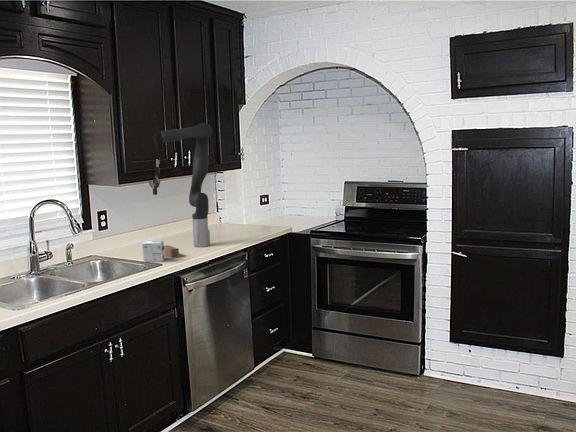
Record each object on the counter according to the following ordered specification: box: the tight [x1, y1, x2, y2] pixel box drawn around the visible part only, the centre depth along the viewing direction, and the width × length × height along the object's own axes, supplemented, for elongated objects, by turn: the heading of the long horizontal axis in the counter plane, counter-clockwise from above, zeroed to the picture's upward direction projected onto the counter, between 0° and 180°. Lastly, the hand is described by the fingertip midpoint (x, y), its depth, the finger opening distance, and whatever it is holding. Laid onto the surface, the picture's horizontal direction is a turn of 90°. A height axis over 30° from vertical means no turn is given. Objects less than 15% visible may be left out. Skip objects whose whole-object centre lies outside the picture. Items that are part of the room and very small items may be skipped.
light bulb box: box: [142, 240, 166, 263], centre depth 312 cm, size 11×7×11 cm, turn 92°
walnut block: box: [164, 245, 180, 257], centre depth 324 cm, size 4×4×13 cm
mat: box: [164, 252, 187, 261], centre depth 323 cm, size 12×14×1 cm
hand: (155, 194), depth 342 cm, fingers closed
